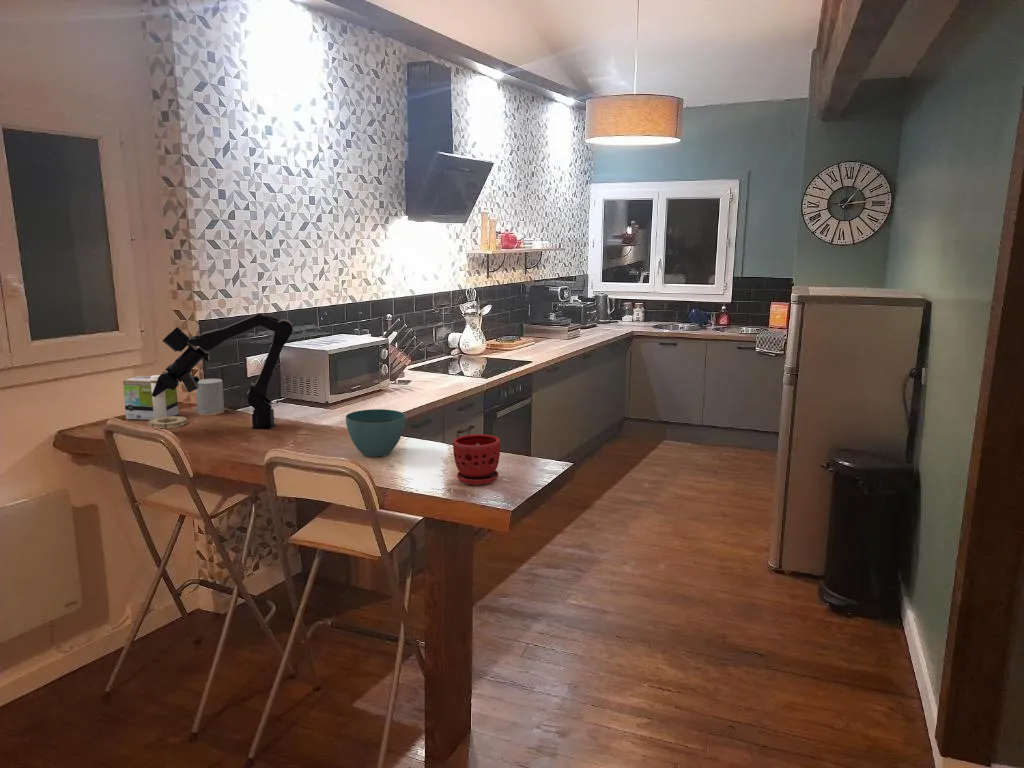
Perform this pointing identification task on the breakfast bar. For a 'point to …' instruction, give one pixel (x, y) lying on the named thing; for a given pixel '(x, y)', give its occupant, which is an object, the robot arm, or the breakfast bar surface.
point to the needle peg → (158, 400)
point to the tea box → (145, 399)
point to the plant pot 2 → (477, 458)
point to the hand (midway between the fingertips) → (154, 394)
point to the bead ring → (172, 422)
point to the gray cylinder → (210, 396)
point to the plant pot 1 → (375, 430)
